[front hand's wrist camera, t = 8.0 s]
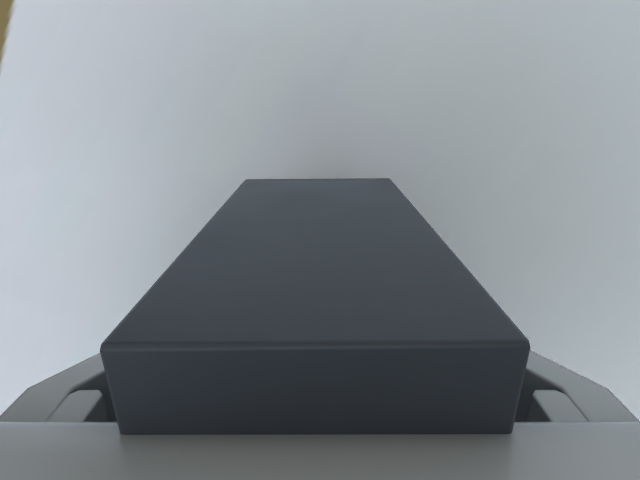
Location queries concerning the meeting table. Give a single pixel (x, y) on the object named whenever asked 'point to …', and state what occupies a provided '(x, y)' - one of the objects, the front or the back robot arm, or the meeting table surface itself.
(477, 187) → the meeting table surface
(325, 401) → the bar
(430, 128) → the meeting table surface
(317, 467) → the front robot arm
